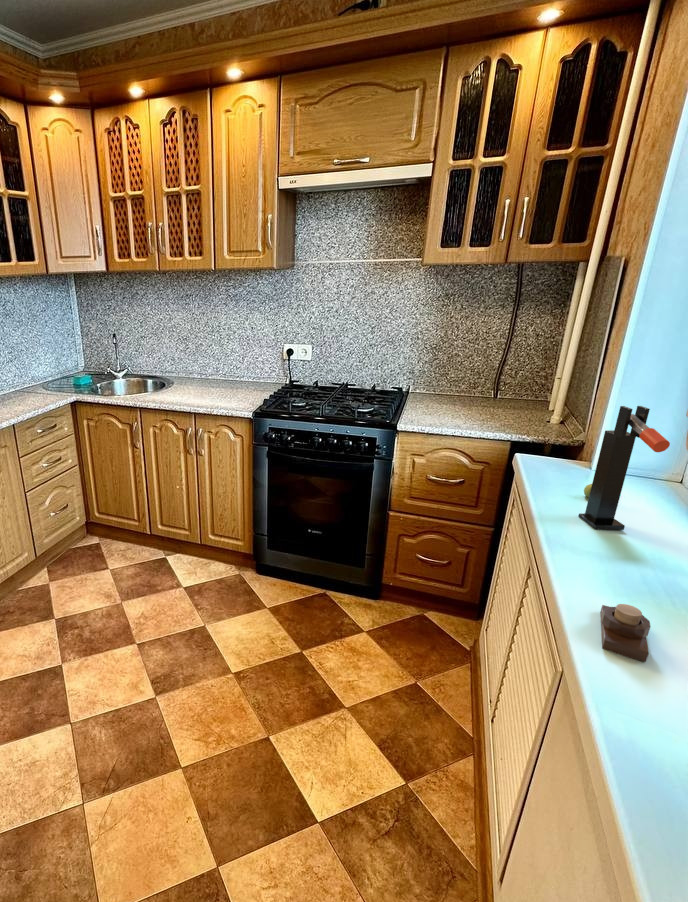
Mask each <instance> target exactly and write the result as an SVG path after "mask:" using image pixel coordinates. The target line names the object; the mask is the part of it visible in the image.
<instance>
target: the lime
mask: <svg viewBox="0 0 688 902" xmlns="http://www.w3.org/2000/svg"><path fill="white" fill-rule="evenodd" d="M591 487H592V483H589V484H587V485H586V486H584V488H583V494H584V496H585V497H587V499H589V495H590V491H591Z"/></svg>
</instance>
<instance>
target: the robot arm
mask: <svg viewBox="0 0 688 902" xmlns="http://www.w3.org/2000/svg"><path fill="white" fill-rule="evenodd" d="M686 418H688V409H687V411H686ZM685 450H686V451H687V452H688V430H687V432H686V438H685Z"/></svg>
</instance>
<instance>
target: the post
mask: <svg viewBox="0 0 688 902" xmlns="http://www.w3.org/2000/svg"><path fill="white" fill-rule="evenodd" d="M650 410H651V408H648V407H645V406H643V405H637V406H636V410H635V412H634V415H635V416H636V417H638V418H639V419H640V420H641V421H642V422H643V423H644V424H646V425H647V422H648V418H649V414H650ZM632 412H633V408H631V407H628V406H625V405H620V406H619V410H618V414H617V418H616V422H615V426H614V430H611V429H610V430H604V433H603V438H602V442H601V446H600V447H601V448H600V450H599V455H598V459H597V463H596V467H595V471H594V475H593V478H592V483H591V484H592V487H591V491H590V495H589V498H587V499H588V500H587V504H586V508H585V511H584V513H578V518H579V519H581V520H582V521H583V522H585V523H586V524H587V525H588V526H589V527H591V529H593V530H596V531H604V530H605V531H609V530H610V531H624V530H625V526H626V525H625V524H623V523H622V522H620V521H619V520H617V519H615V517H616V513H617V510H618V506H619V502H620V498H621V494H622V490H623V487H624V483H625V481H626V480H625V479H626V476H627V472H628V469H629V464H630V461H631V457H632V453H633V449H634V447H635V442H636V438H638V439H640V434H638V433H637V432H636V431H635V430H634V429H633V428H632V427H630V432H629V431H628V430H629V429H628V428H629V426H630V425H629V421H630V417H631V414H633V413H632Z"/></svg>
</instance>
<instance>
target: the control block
mask: <svg viewBox="0 0 688 902" xmlns="http://www.w3.org/2000/svg"><path fill="white" fill-rule="evenodd" d="M615 609H616V606H609V605H606V604H605V605H604V604H602V605H601V608H600V611H599V614H600V630H601V631H600V632H601V633H600V636H601V649H602V650H605V651H608V652H611V653H614V654H616V655H620V656H623V657H627V658H630V659H633V660H637V661H641V662H644V663H647V659H648V656H649V647H648V641H647V637H648V636H649V633H650V631H651V622H650V621H651V620H650V619H648V618H647V617H645V615H643V614H642V616H641V619H640V622H639V624H638V625H629V624H626V623H623V622H621V621H619V620H617V619H616V618H614V613H615Z"/></svg>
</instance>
